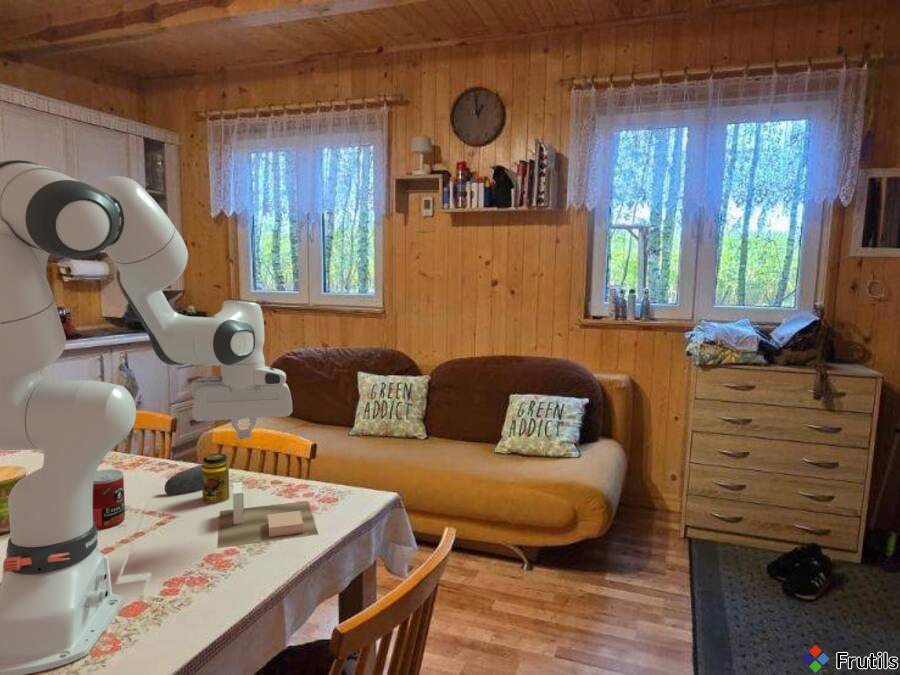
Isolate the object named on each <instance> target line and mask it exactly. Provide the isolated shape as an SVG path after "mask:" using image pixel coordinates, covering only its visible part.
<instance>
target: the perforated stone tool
mask: <svg viewBox="0 0 900 675" xmlns="http://www.w3.org/2000/svg"><path fill="white" fill-rule="evenodd" d="M203 467H204V466H203V464H200V465H196V466H192V467H190V468H188V469H185V470H182V471H179V472H177V473H176V474H174V475H173V476H171V477H170V478H168V479H167V481H166V482H165V484H164V493H165V494H166V495H168V496H175V495H184V494H189V493H196V492H198V491H199V492H200V491H202V490H203V488H202V469H203Z"/></svg>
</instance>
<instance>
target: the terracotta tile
mask: <svg viewBox="0 0 900 675" xmlns="http://www.w3.org/2000/svg"><path fill="white" fill-rule="evenodd" d="M267 523H268V531H269V537H273V536H281V535H288V534H296V533H303V520H302V517H301V513H300V511H294V512H285V513H277V514H269V515H267Z"/></svg>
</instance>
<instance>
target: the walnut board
mask: <svg viewBox="0 0 900 675" xmlns="http://www.w3.org/2000/svg"><path fill="white" fill-rule="evenodd" d="M294 511H300V513H301V517H302V520H303V533H296V534H288V535H281V536H273V537H269V531H268V523H267V515H269V514H277V513H285V512H294ZM217 534H218V535H217V549H220V548H227V547H235V546H242V545H244V546H245V545H249V544H257V543H265V542H272V541H273V542H274V541H280V540H287V539H294V538H295V539H296V538H302V537H310V536H317V535H318V536H319V532H318V528H317V525H316V522H315V519H314V516H313V512H312V509H311V505H310V502H309V500H304V501H297V502H296V501H295V502H286V503H279V504H271V505H270V504H269V505H263V506H262V505H261V506H252V507H244V516H243V523H241V524H234V520H233V509H226V510H219V522H218V532H217Z"/></svg>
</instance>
